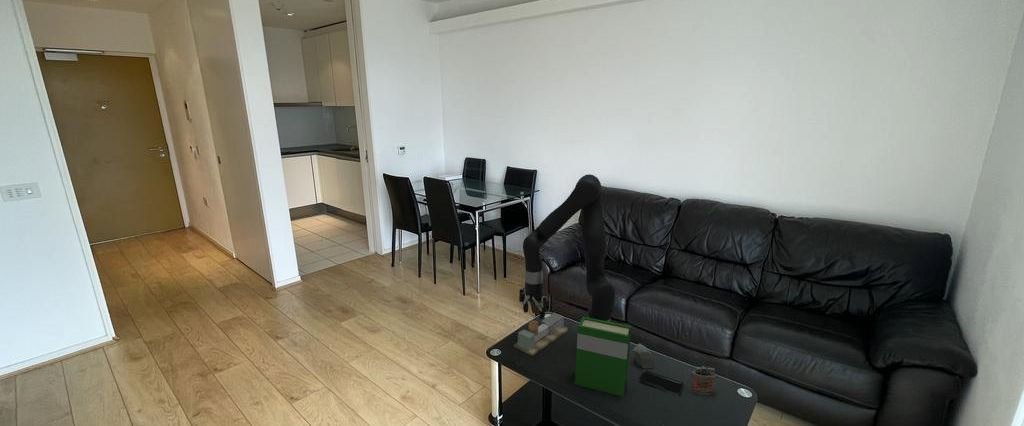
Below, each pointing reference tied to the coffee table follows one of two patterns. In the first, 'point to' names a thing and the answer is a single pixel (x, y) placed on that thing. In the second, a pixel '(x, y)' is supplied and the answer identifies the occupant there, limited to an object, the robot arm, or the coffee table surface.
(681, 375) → the coffee table surface
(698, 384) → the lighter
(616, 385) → the hardback book
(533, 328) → the tube
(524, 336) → the sage socket
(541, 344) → the oak base
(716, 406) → the coffee table surface
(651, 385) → the phone
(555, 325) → the aluminium sleeve
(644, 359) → the mineral specimen
